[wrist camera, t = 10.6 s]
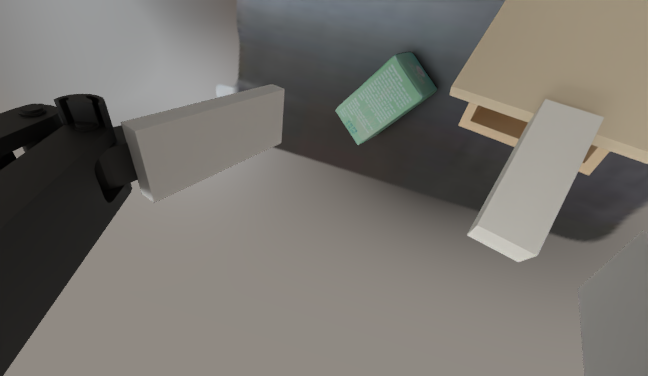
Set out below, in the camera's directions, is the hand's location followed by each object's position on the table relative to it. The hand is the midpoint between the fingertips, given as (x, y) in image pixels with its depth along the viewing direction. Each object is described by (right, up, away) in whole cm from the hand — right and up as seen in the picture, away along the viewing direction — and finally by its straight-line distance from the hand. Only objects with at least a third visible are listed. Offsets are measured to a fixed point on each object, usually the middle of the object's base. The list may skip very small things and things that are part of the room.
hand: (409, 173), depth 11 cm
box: (+9, +15, +38) cm, 42 cm away
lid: (+14, +7, +9) cm, 18 cm away
